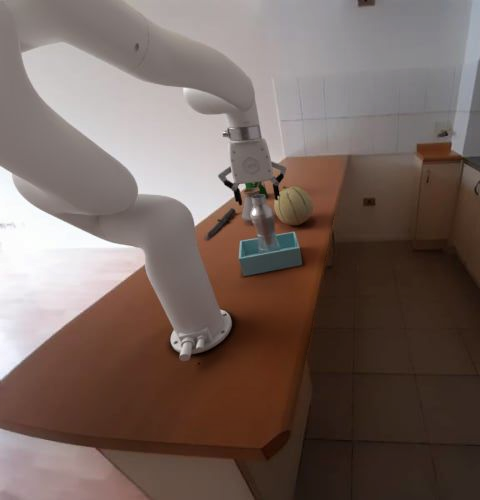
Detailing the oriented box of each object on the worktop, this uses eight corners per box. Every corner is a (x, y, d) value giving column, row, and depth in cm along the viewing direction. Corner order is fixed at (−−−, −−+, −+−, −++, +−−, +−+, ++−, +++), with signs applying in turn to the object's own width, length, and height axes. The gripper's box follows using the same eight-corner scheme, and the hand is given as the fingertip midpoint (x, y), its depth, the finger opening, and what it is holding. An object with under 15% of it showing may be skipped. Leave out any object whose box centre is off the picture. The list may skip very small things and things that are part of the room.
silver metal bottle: (278, 264, 82) (265, 200, 72) (257, 263, 84) (241, 200, 74) (285, 253, 88) (274, 192, 78) (265, 252, 89) (252, 192, 79)
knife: (229, 211, 123) (230, 206, 122) (238, 216, 124) (240, 211, 122) (196, 236, 102) (198, 231, 101) (208, 242, 103) (210, 237, 102)
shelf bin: (302, 265, 83) (299, 247, 80) (243, 276, 80) (238, 258, 77) (297, 247, 93) (294, 231, 90) (244, 257, 90) (240, 240, 86)
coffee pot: (266, 226, 109) (259, 189, 102) (239, 226, 110) (229, 190, 103) (281, 206, 127) (275, 173, 120) (257, 206, 129) (250, 174, 121)
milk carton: (245, 200, 138) (235, 158, 128) (258, 194, 144) (250, 154, 134) (257, 202, 134) (248, 159, 124) (270, 196, 140) (263, 155, 130)
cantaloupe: (312, 231, 102) (307, 192, 95) (273, 232, 104) (265, 193, 96) (316, 215, 115) (313, 179, 108) (282, 216, 116) (276, 181, 109)
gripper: (206, 139, 63) (225, 210, 71) (282, 132, 66) (291, 201, 75) (210, 136, 69) (227, 201, 78) (279, 129, 73) (288, 193, 81)
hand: (258, 201), depth 76 cm, fingers open, 9 cm apart
